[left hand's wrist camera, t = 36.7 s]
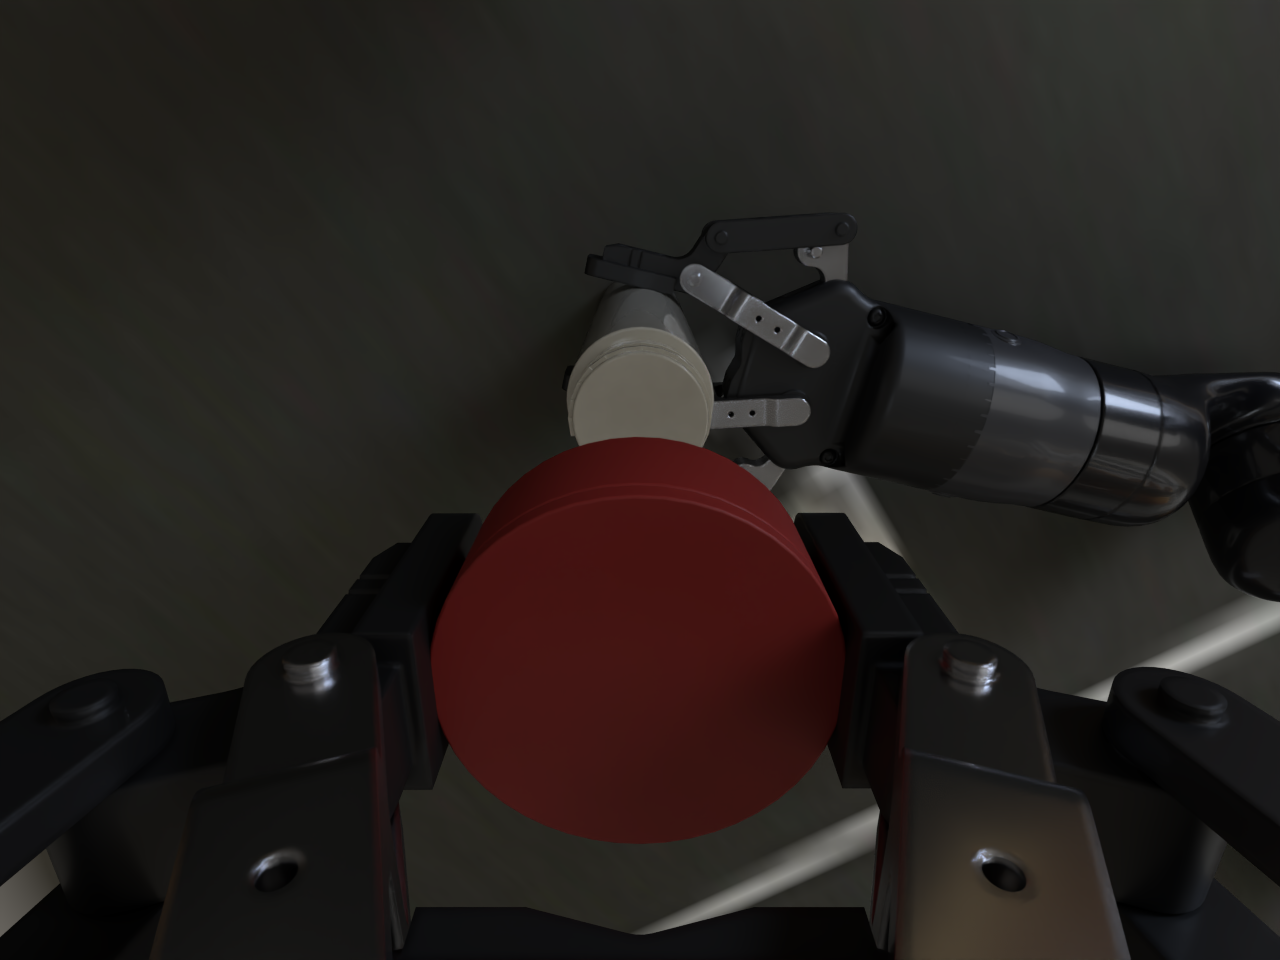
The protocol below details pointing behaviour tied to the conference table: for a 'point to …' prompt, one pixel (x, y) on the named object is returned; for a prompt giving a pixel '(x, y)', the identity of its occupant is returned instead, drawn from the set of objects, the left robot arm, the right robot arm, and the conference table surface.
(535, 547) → the lid
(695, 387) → the white tall cylinder
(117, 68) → the conference table surface
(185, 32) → the conference table surface
